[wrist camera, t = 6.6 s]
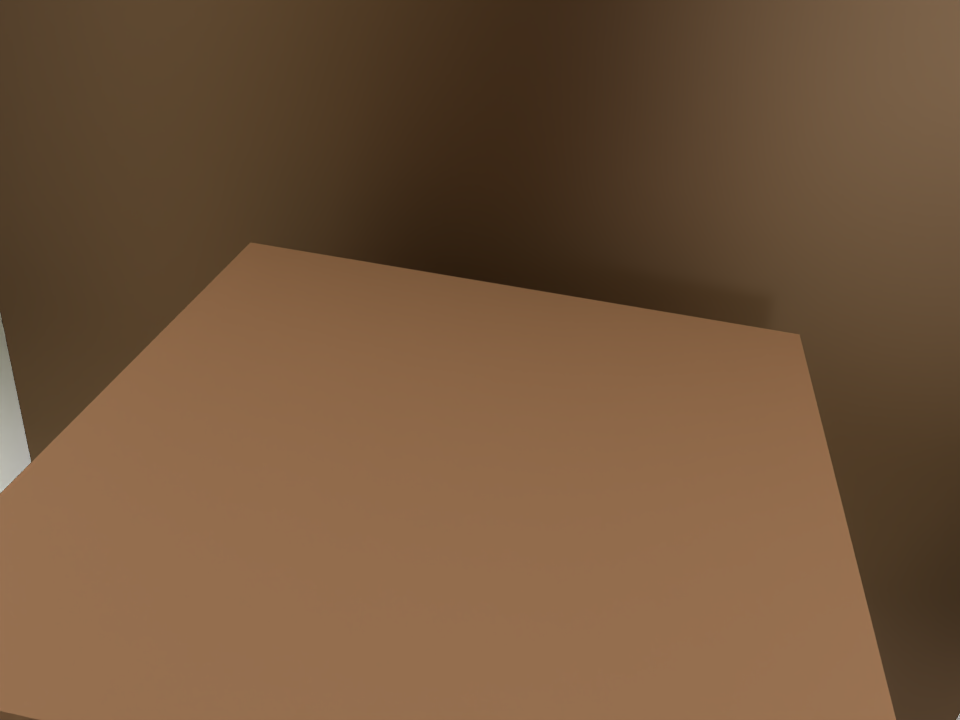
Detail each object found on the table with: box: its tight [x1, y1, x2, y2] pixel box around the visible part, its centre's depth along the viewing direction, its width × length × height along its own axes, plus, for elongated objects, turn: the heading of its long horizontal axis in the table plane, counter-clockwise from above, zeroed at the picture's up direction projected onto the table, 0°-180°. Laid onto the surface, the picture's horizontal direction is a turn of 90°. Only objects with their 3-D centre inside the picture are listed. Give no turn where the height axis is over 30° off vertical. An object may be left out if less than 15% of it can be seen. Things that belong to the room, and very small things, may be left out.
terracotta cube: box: [0, 242, 896, 720], centre depth 7 cm, size 5×5×5 cm
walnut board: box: [0, 0, 960, 720], centre depth 11 cm, size 12×16×2 cm
